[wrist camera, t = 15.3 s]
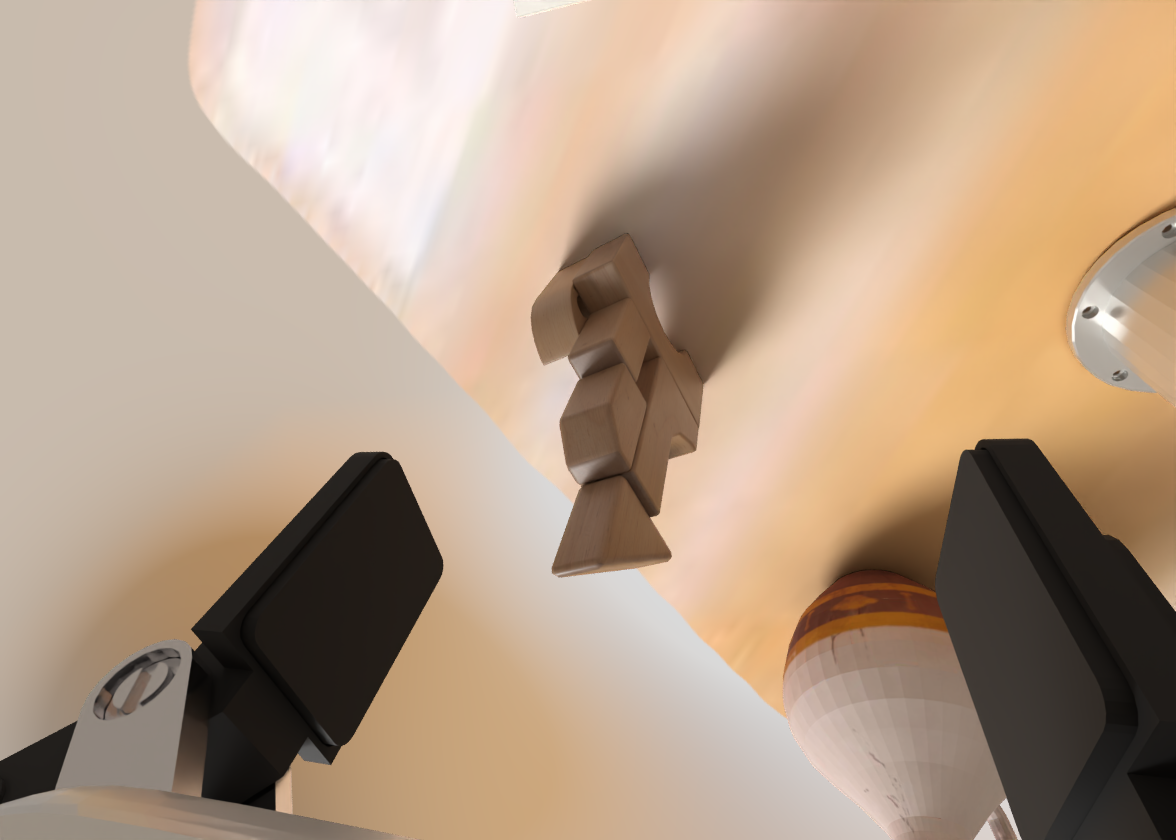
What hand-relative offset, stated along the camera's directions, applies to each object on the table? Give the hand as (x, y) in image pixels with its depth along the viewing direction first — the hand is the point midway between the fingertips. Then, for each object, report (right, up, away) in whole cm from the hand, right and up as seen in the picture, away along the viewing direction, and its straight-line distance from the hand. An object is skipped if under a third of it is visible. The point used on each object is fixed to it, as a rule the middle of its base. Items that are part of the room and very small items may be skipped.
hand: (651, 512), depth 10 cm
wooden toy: (+3, +8, +35) cm, 36 cm away
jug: (+27, -16, +45) cm, 55 cm away
